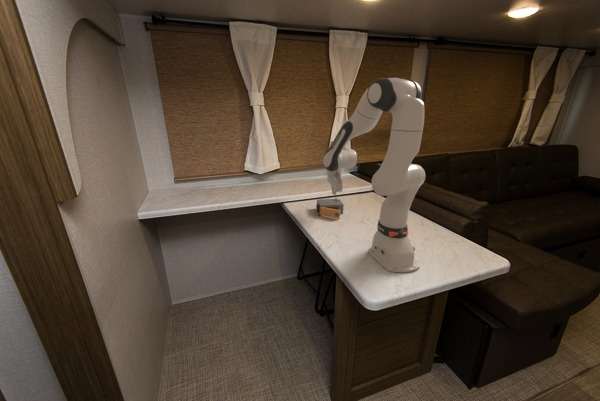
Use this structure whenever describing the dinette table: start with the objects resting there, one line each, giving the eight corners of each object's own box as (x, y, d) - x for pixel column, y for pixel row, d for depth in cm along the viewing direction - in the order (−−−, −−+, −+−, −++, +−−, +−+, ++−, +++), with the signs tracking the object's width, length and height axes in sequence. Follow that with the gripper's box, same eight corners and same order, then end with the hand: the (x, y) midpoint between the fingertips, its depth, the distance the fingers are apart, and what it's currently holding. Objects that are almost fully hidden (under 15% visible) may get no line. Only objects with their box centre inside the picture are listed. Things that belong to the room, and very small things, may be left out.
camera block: (343, 213, 153) (343, 203, 150) (317, 215, 151) (318, 204, 148) (338, 207, 162) (339, 197, 159) (314, 208, 160) (315, 198, 158)
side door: (338, 220, 144) (339, 211, 142) (318, 215, 150) (318, 207, 148) (339, 219, 146) (340, 210, 144) (319, 214, 151) (319, 206, 149)
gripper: (346, 175, 131) (344, 200, 136) (336, 165, 149) (334, 188, 155) (334, 175, 130) (332, 201, 135) (325, 165, 149) (324, 188, 154)
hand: (333, 194), depth 145 cm, fingers closed
